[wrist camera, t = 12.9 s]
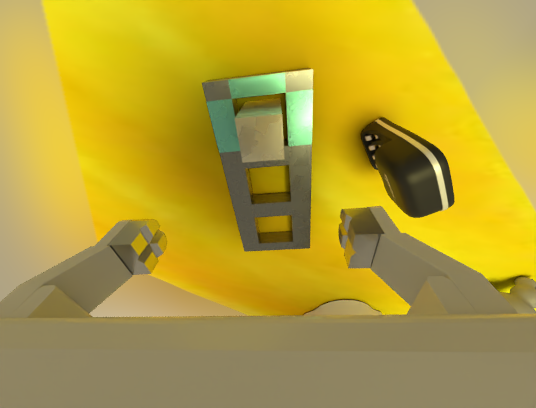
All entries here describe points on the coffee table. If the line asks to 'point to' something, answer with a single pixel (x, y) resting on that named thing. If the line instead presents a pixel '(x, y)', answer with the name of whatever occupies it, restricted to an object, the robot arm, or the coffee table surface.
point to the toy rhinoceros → (522, 295)
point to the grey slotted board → (295, 154)
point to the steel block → (260, 130)
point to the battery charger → (409, 168)
